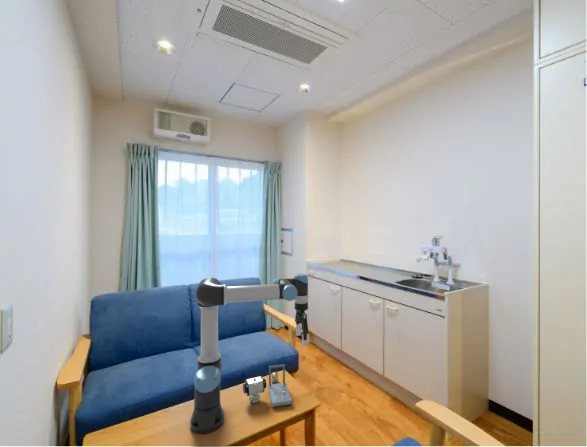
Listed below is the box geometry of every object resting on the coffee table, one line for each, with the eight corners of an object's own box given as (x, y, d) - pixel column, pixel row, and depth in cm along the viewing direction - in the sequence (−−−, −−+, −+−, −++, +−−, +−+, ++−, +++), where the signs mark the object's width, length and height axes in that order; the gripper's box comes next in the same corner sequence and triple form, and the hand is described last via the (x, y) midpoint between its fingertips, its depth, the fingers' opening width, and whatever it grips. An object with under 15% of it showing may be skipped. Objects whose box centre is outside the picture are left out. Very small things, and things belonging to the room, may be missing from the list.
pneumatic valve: (242, 401, 144) (242, 378, 144) (263, 395, 149) (263, 373, 149) (245, 407, 139) (245, 383, 139) (267, 401, 144) (267, 378, 144)
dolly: (272, 408, 138) (272, 382, 138) (267, 390, 153) (267, 366, 153) (291, 405, 140) (291, 379, 140) (285, 387, 155) (285, 363, 156)
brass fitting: (271, 384, 159) (271, 375, 159) (270, 380, 163) (270, 372, 163) (278, 383, 160) (278, 375, 160) (277, 379, 164) (277, 371, 164)
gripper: (314, 308, 142) (314, 349, 142) (302, 296, 166) (302, 331, 166) (300, 309, 140) (300, 350, 140) (289, 296, 164) (290, 332, 164)
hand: (301, 340), depth 153 cm, fingers open, 13 cm apart
